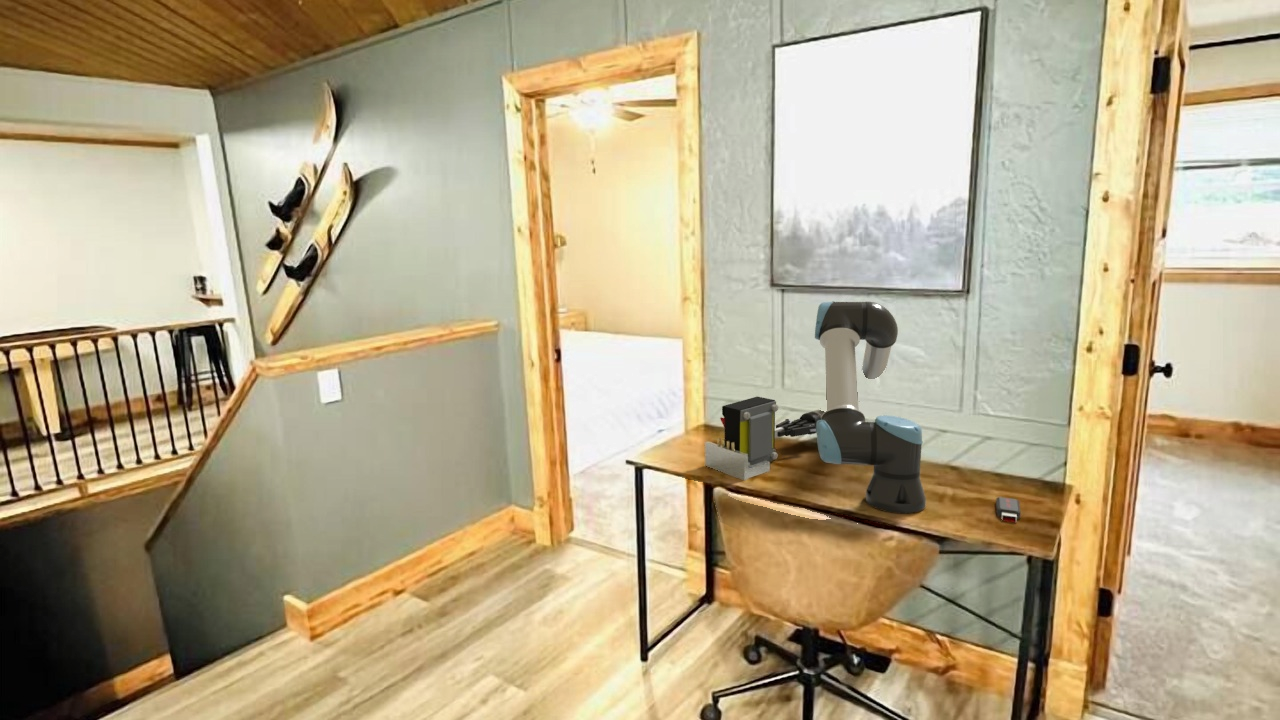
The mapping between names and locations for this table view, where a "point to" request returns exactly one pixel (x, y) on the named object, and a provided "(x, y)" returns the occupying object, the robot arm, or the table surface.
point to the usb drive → (1008, 509)
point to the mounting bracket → (732, 461)
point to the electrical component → (751, 428)
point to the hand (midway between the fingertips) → (769, 435)
